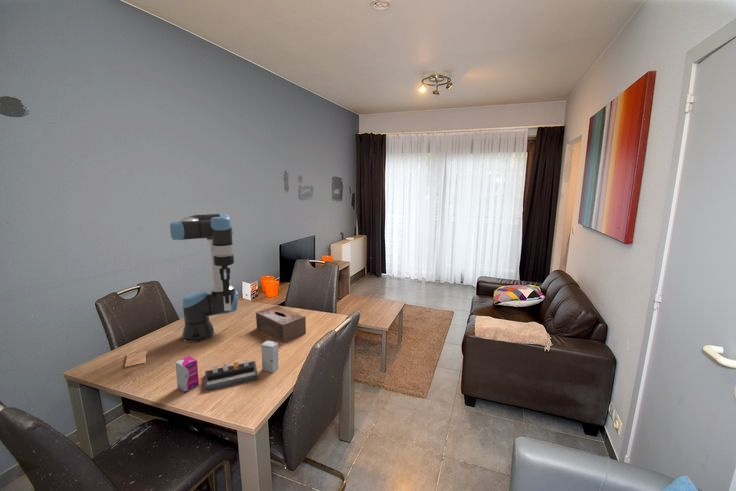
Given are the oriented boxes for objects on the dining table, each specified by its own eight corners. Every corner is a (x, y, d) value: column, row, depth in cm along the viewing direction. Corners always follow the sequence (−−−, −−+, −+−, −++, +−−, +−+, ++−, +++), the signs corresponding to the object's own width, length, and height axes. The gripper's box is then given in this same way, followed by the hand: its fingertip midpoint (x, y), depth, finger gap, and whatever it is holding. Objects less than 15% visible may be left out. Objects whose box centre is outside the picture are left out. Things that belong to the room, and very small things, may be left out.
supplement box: (185, 393, 126) (182, 366, 124) (177, 388, 129) (174, 361, 127) (199, 385, 131) (197, 359, 129) (191, 380, 134) (188, 355, 132)
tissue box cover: (256, 328, 184) (255, 312, 182) (278, 320, 194) (277, 305, 193) (283, 343, 167) (282, 324, 165) (306, 333, 178) (305, 316, 176)
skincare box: (261, 370, 142) (260, 344, 140) (268, 365, 146) (266, 340, 144) (273, 373, 140) (272, 347, 138) (279, 367, 144) (278, 342, 142)
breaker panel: (204, 391, 127) (203, 378, 126) (205, 375, 138) (204, 363, 137) (258, 379, 135) (257, 367, 134) (255, 365, 146) (254, 353, 145)
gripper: (213, 252, 137) (218, 306, 141) (213, 258, 125) (218, 316, 129) (232, 251, 140) (236, 303, 144) (234, 257, 128) (238, 313, 132)
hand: (227, 309), depth 136 cm, fingers closed
